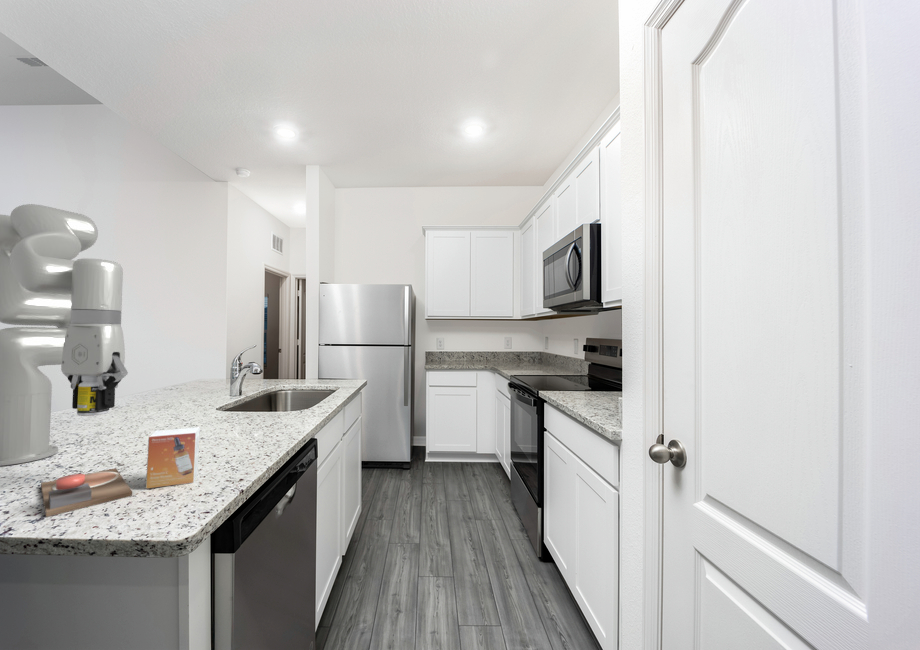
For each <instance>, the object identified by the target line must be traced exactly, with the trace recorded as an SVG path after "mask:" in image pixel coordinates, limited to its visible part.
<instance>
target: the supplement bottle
mask: <svg viewBox="0 0 920 650" xmlns="http://www.w3.org/2000/svg"><path fill="white" fill-rule="evenodd" d="M103 374H106V373H103ZM108 378H109V377H105V381H106V380H107V379H108ZM81 379H82V381H83V382H82V383H80V384H79V386H78V405H77V409H76V415H77V416H79V417H92V416H94V417H95V416H100V415H105V414H108V413H109V412H110V408H108V409H102V410H96V409H95V398H96V390H100V389H99V387H98V381H97V376H89V375H82V377H81Z"/></svg>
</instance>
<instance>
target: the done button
mask: <svg viewBox="0 0 920 650" xmlns="http://www.w3.org/2000/svg"><path fill="white" fill-rule="evenodd" d="M85 474H86V473H73V474H68V475H64V476H61V477H59V478H57V479H55V480H56V489H58V490H63V489H70V488H74V487H78V486H81V485H83V484H84V483H85Z"/></svg>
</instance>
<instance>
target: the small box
mask: <svg viewBox="0 0 920 650" xmlns="http://www.w3.org/2000/svg"><path fill="white" fill-rule="evenodd" d="M200 433H201V428H200V426H195V427H188V428H187V427H186V428H174V429H163V430H160V429H158V430H154V432H152V433H151V435H149V436H148V441H147V442H148V443H147V459H146V461H147V462H146V479H145V489H153V488H159V487H167V486H176V485H178V486H179V485H188V484H193V483H194V482H195V481H196V478H197V475H199V474H198V473H199V457H200V456H199V453H200V450H199V449H200V436H201V435H200Z"/></svg>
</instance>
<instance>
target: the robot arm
mask: <svg viewBox="0 0 920 650" xmlns="http://www.w3.org/2000/svg"><path fill="white" fill-rule="evenodd" d="M98 231H99V230H98V227H97V225H96V223H95V221H94V220H93V219H91V218H90V217H89V216H87V215H85V214H81V213H78V212H74V211H68V210H64V209H60V208H57V207H56V208H55V207H51V206H47V205H42V204H35V203H34V204H33V203H31V204H30V203H27V204H20V205H19V206H16V207H15V208H14V209H13V210H11V213H10V215H8V214H7V215H6V214H0V323H2V324H4V325H5V324H6V325H11V326H14V327H6V328H5V327H4V328H2V329H0V467H1V466H9V465H10V466H11V465H19V464H24V463H29V462H34V461H37V460H43V459H45V458H49V457H51V456H53V455H55V454H57V453H58V452H59V447H58V446H57V445H50V437H51V417H52V416H51V414H52V391H53V390H52V389H53V387H52V386H53V385H52V381H51V380H50V378H49V377H48V376H47V375H46V373H43V372H42V371H41V370H40V369H39V368H38V367H43V366H44V367H45V366H58V365H59V366H60V367H61V368H60V369H61V370H60V371H61V372H62V374H63V375H64V376H65V377H66V378H67V380H68V382H69V383H70V388H71V389H72V403H71V404H72V407H71V408H72V409H73V410H77V405H78V386H79V384H80V383H82V382H83V381H82V379H81V377H82V375H89V376H97V381H98V387H99V389H100V390H96V398H95V409H96V410H102V409H108V408H109V409H113V408H114V407H115V406H116V405H115V404H116V403H115V402H116V400H115V398H116V389H117V388H118V387H119V383H120V382H121V381H122V380H123V379H124V378H125V377H126V376H128V373H129V372H128V370H127V368H126V367H125V359H126V358H125V357H126V355H125V353H126V352H125V350H126V349H125V339H124V333H123V332H124V331H123V327H122V309H123V308H122V307H123V304H122V303H123V283H124V282H123V280H124V279H123V278H124V275H123V274H124V272H123V271H124V270H123V267H122V265H121V264H120V263H118V262H115V261H113V260H107V259H101V258H91V257H90V258H88V257H87V258H85V257H83V258H78V259H76V260H75V258H76V257H77V256H78V255H79V254H80V253H82V252H84V251H85V250H88V249H89V248H91V247H93V246H94V245H95V243H96V241H97V239H98V236H99V232H98ZM15 326H16V327H15ZM20 326H21V327H20ZM24 326H25V327H24ZM29 326H30V327H29ZM35 326H37V327H35ZM39 326H40V327H39ZM45 326H47V327H45ZM48 326H49V327H48ZM103 373H106V374H103ZM105 377H109V378H108V379H107V380H106V381H105Z"/></svg>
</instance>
